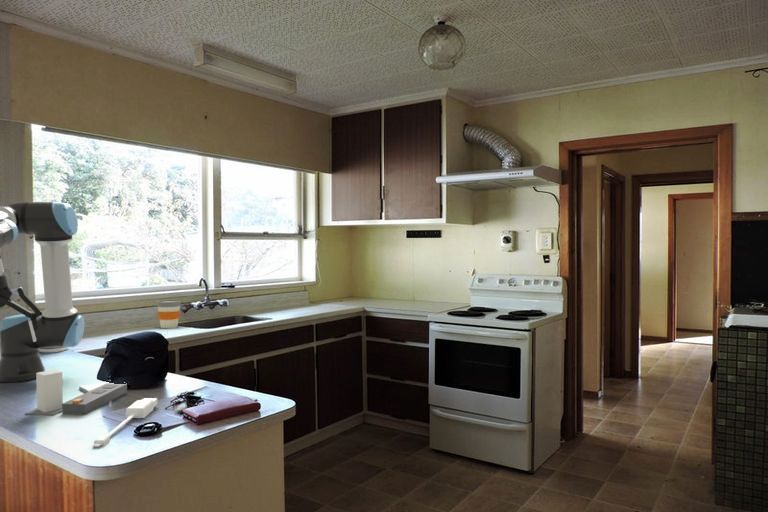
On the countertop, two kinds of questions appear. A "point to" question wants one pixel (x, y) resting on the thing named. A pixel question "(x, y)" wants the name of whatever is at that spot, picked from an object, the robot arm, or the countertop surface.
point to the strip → (94, 399)
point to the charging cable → (130, 417)
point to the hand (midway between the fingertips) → (6, 346)
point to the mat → (38, 412)
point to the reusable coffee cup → (168, 313)
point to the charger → (49, 390)
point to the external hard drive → (92, 386)
